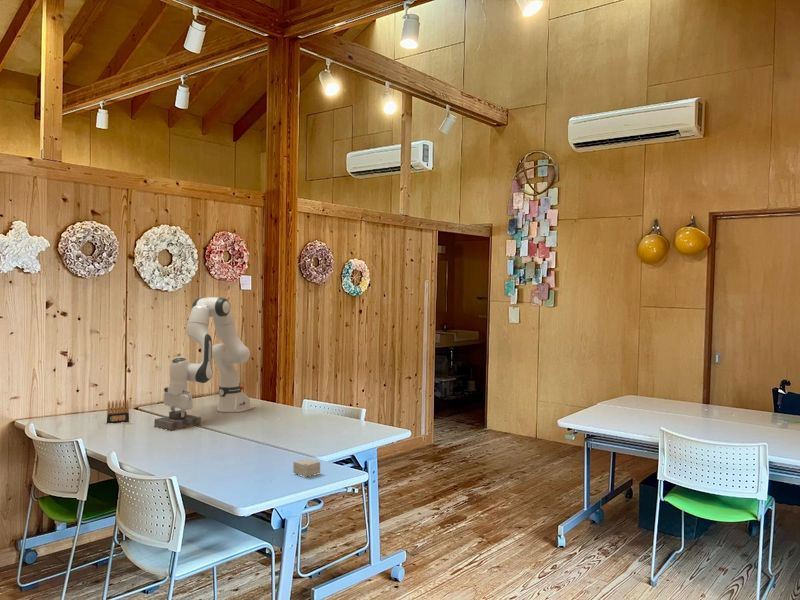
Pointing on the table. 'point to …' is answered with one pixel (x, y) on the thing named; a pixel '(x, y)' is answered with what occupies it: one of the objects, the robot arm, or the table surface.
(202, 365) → the robot arm
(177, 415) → the plug
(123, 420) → the ammunition clip
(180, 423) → the socket board
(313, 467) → the small box
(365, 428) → the table surface
